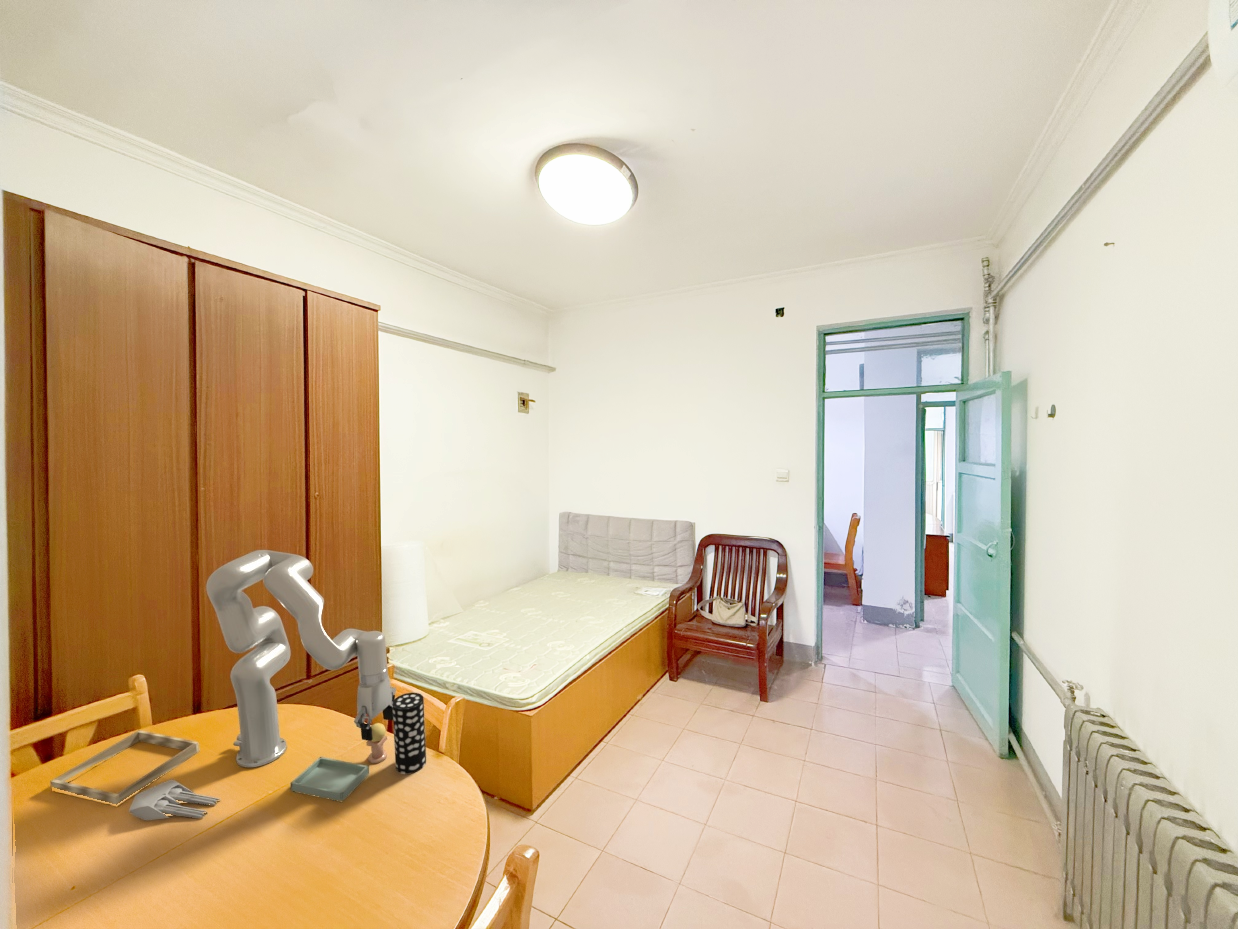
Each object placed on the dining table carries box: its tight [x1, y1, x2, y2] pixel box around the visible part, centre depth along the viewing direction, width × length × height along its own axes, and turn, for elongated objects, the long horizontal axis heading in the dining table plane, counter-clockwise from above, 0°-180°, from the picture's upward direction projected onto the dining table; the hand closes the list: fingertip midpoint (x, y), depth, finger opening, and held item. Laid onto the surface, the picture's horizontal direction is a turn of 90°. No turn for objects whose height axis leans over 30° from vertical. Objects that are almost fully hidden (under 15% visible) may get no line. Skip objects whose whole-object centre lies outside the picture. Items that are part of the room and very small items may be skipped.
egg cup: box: [365, 735, 388, 764], centre depth 165 cm, size 5×5×6 cm
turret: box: [128, 778, 221, 821], centre depth 146 cm, size 10×20×5 cm, turn 88°
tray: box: [290, 756, 370, 802], centre depth 156 cm, size 16×11×2 cm
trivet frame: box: [49, 730, 200, 805], centre depth 159 cm, size 23×23×3 cm
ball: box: [370, 722, 386, 742], centre depth 165 cm, size 5×5×5 cm
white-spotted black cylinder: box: [392, 692, 427, 775], centre depth 162 cm, size 8×8×20 cm
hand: (378, 729), depth 164 cm, fingers open, 9 cm apart
